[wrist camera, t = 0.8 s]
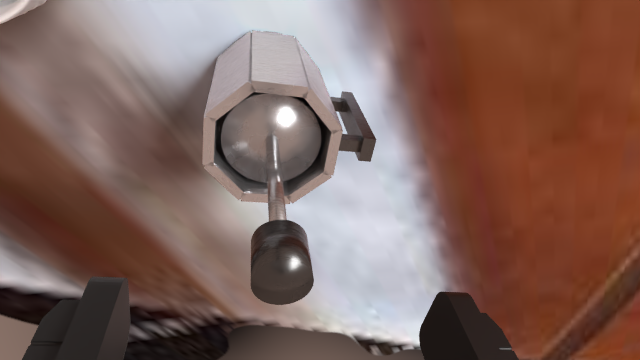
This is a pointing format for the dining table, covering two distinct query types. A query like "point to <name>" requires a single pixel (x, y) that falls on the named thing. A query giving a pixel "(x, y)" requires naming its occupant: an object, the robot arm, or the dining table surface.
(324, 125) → the carafe
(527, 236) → the dining table surface
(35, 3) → the mug
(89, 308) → the robot arm
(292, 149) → the plunger
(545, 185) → the dining table surface
